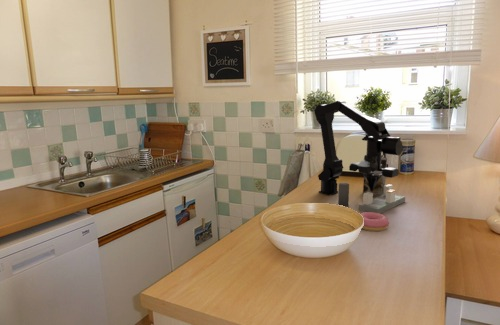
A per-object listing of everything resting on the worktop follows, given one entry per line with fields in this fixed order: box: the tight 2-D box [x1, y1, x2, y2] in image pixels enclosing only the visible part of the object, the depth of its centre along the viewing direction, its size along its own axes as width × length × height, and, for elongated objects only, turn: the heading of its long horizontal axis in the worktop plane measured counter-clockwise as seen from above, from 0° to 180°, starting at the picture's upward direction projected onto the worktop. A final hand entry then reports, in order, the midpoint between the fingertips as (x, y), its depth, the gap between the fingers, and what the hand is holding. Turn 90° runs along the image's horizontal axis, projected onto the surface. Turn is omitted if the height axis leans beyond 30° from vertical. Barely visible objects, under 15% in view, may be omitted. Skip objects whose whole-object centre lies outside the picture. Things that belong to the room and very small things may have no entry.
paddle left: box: [362, 192, 374, 205], centre depth 142 cm, size 2×4×4 cm, turn 133°
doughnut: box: [360, 211, 390, 232], centre depth 125 cm, size 11×11×4 cm
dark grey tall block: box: [337, 182, 350, 207], centre depth 146 cm, size 4×4×9 cm
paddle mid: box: [385, 189, 396, 203], centre depth 144 cm, size 2×4×4 cm, turn 132°
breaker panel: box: [358, 194, 406, 214], centre depth 146 cm, size 8×22×2 cm, turn 133°
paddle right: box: [384, 183, 394, 196], centre depth 153 cm, size 2×4×4 cm, turn 133°
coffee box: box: [362, 156, 388, 196], centre depth 162 cm, size 9×6×16 cm
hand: (372, 190), depth 149 cm, fingers closed
